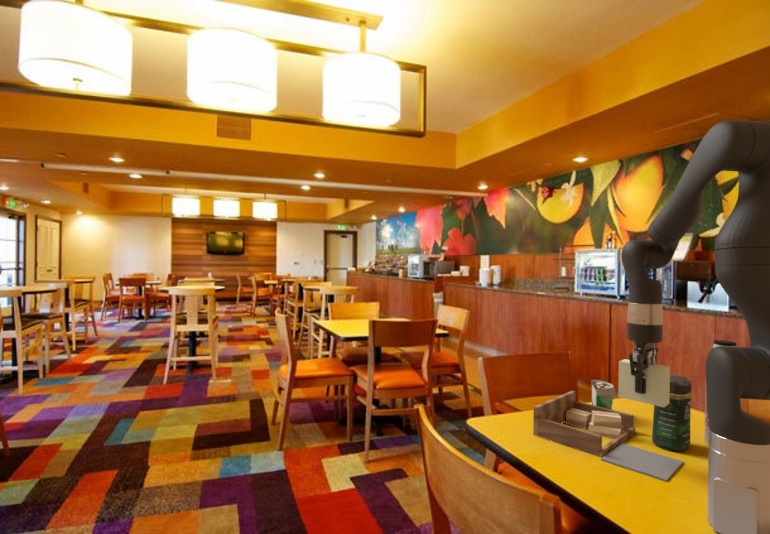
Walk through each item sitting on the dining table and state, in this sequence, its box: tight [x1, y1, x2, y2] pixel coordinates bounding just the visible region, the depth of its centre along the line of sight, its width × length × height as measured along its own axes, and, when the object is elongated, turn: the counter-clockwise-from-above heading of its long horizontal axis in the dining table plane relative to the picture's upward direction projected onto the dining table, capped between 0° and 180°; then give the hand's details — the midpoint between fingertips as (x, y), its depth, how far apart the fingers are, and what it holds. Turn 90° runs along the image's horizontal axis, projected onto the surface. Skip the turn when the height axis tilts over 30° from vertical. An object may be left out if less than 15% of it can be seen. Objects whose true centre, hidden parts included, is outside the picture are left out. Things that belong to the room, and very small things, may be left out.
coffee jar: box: [651, 374, 693, 452], centre depth 116 cm, size 10×8×19 cm
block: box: [617, 358, 671, 407], centre depth 106 cm, size 4×10×9 cm, turn 42°
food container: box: [591, 379, 616, 410], centre depth 138 cm, size 12×6×10 cm, turn 161°
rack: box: [532, 390, 637, 458], centre depth 123 cm, size 24×19×8 cm
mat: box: [600, 442, 684, 483], centre depth 106 cm, size 14×14×1 cm
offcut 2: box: [592, 410, 621, 429], centre depth 123 cm, size 4×7×3 cm, turn 71°
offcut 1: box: [565, 408, 592, 430], centre depth 130 cm, size 4×6×4 cm, turn 40°
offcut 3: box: [588, 421, 625, 440], centre depth 123 cm, size 5×8×3 cm, turn 51°
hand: (643, 390), depth 106 cm, fingers closed on block, 4 cm apart
